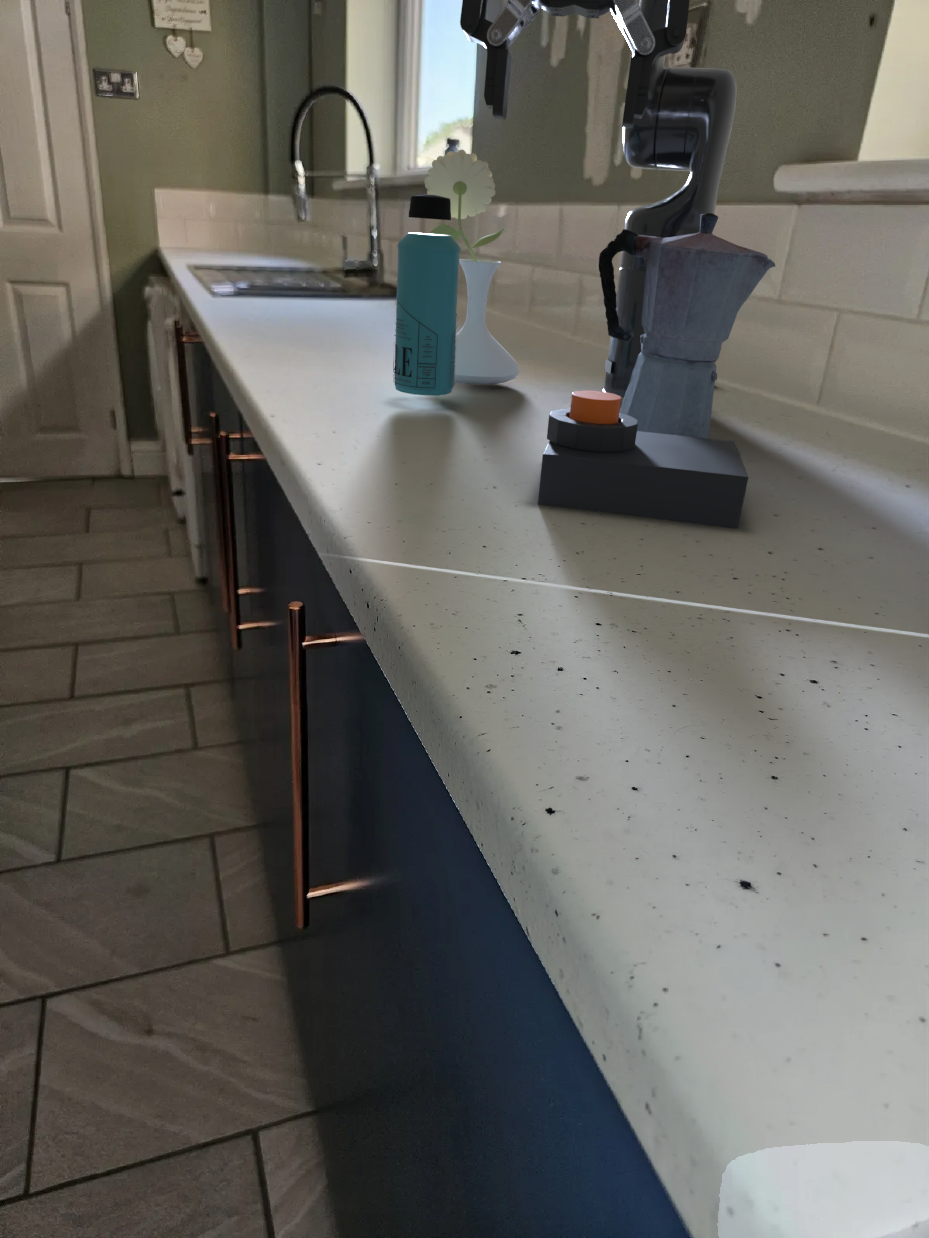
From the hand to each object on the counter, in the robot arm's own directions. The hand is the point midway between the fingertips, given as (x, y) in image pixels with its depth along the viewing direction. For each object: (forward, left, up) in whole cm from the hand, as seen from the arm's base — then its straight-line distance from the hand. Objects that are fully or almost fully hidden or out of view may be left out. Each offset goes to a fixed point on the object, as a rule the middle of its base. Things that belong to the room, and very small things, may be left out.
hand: (562, 122), depth 58 cm
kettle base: (-3, +8, -24) cm, 26 cm away
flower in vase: (-30, -30, -25) cm, 49 cm away
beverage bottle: (-15, -24, -25) cm, 38 cm away
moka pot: (-22, 0, -25) cm, 33 cm away
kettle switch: (-2, +4, -19) cm, 20 cm away
